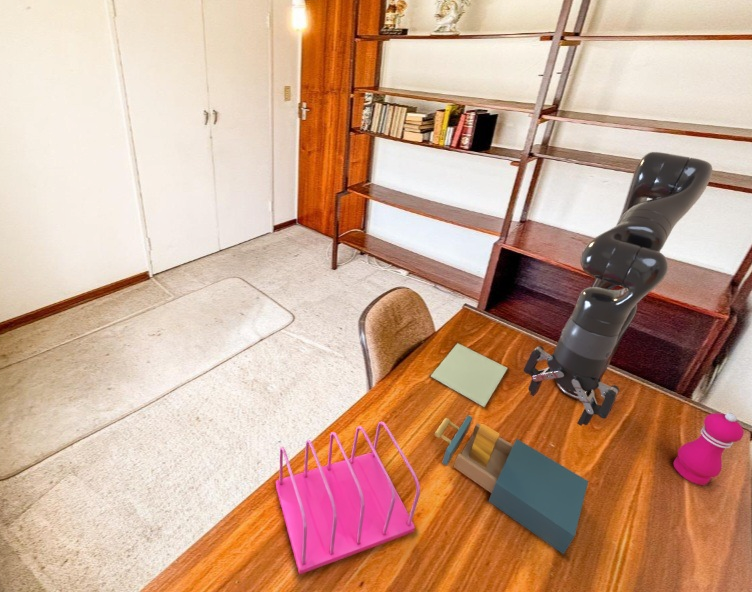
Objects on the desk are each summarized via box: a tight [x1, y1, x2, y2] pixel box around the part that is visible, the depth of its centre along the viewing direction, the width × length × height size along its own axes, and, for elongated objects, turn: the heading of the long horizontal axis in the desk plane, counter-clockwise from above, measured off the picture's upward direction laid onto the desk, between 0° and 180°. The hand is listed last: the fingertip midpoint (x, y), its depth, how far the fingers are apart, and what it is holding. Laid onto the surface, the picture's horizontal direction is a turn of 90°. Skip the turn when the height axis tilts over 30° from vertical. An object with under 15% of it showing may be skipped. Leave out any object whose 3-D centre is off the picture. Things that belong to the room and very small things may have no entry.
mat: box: [430, 342, 508, 408], centre depth 121 cm, size 20×16×1 cm
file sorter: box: [275, 421, 421, 575], centre depth 81 cm, size 17×25×16 cm
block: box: [469, 423, 501, 468], centre depth 92 cm, size 3×4×9 cm
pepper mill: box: [672, 412, 744, 486], centre depth 90 cm, size 7×7×20 cm
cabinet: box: [488, 438, 589, 555], centre depth 86 cm, size 15×15×7 cm
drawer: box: [434, 414, 514, 494], centre depth 95 cm, size 18×13×5 cm
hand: (556, 407), depth 77 cm, fingers open, 8 cm apart
